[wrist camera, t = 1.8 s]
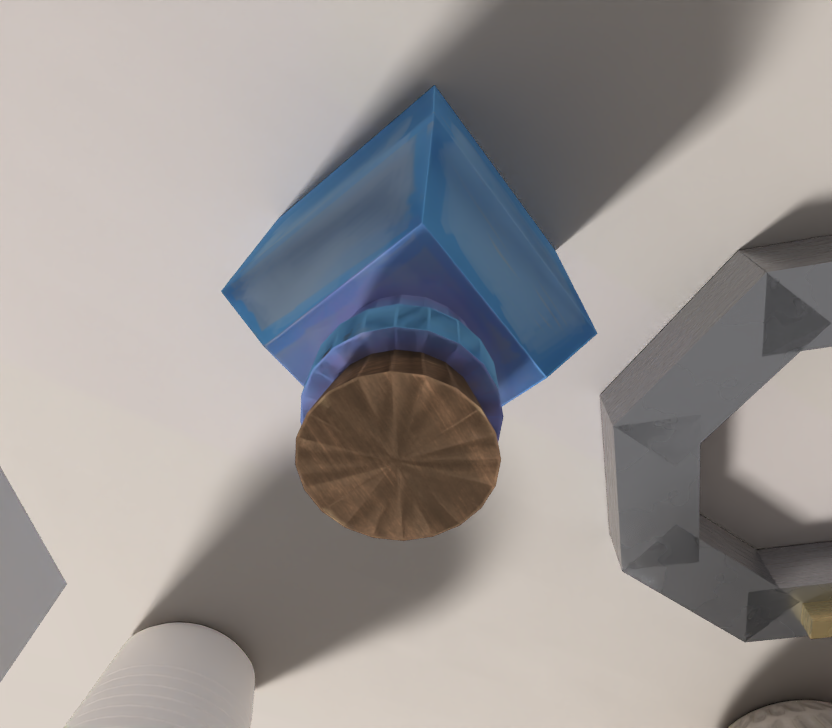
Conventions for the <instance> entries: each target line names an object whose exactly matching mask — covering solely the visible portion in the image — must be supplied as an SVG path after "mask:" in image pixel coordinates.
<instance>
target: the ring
mask: <svg viewBox="0 0 832 728" xmlns="http://www.w3.org/2000/svg"><path fill="white" fill-rule="evenodd" d="M831 346H832V235H829V236H823V237H817V238H811V239H805V240H799V241H793V242H787V243H781V244H774V245H768V246H762V247H756V248H750V249H744V250H739V251H737V252H736V253H735V254H734V256H733V257H732V258H731V259H730V260H729V261H728V262H727V263H726V264H725V265H724V266H723V267H722V268H721V269H720V270H719V271H718V272H717V273H716V274H715V275H714V276H713V277H712V279H711V280H710V281H709V282H708V283H707V284H706V285H705V286H704V287H703V288H702V289H701V290H700V291H699V292H698V293H697V294H696V295H695V296H694V297H693V298H692V299H691V300H690V302H689V303H688V304H687V305H686V306H685V307H684V308H683V309H682V310H681V311H680V312H679V313H678V314H677V315H676V316H675V317H674V318H673V319H672V320H671V321H670V322H669V323H668V325H667V326H666V327H665V328H664V329H663V330H662V331H661V332H660V333H659V334H658V335H657V336H656V337H655V338H654V339H653V340H652V341H651V342H650V343H649V344H648V345H647V346H646V348H645V349H644V350H643V351H642V352H641V353H640V354H639V355H638V356H637V357H636V358H635V359H634V360H633V361H632V362H631V363H630V364H629V365H628V366H627V367H626V368H625V369H624V371H623V372H622V373H621V374H620V375H619V376H618V377H617V378H616V379H615V380H614V381H613V382H612V383H611V384H610V385H609V386H608V387H607V388H606V389H605V390H604V391H603V392H602V394H601V395H600V404H601V419H602V433H603V447H604V462H605V476H606V491H607V505H608V520H609V534H610V536H611V539H612V542H613V545H614V548H615V551H616V554H617V557H618V560H619V563H620V566H621V569H622V571H623V572H624V573H626V574H628V575H630V576H631V577H633V578H635V579H637V580H638V581H640V582H642V583H643V584H645V585H647V586H649V587H650V588H652V589H654V590H656V591H657V592H659V593H661V594H662V595H664V596H666V597H668V598H669V599H671V600H673V601H675V602H676V603H678V604H680V605H681V606H683V607H685V608H687V609H688V610H690V611H692V612H694V613H695V614H697V615H699V616H700V617H702V618H704V619H706V620H707V621H709V622H711V623H712V624H714V625H716V626H718V627H719V628H721V629H723V630H725V631H726V632H728V633H730V634H731V635H733V636H735V637H737V638H738V639H740V640H742V641H744V642H752V641H762V640H772V639H782V638H792V637H802V636H809V637H810V639H816V638H826V637H832V541H830V542H822V543H813V544H805V545H796V546H787V547H779V548H770V549H761V550H756V549H754V548H753V547H751V546H749V545H748V544H746V543H745V542H743V541H741V540H740V539H738V538H737V537H735V536H734V535H732V534H730V533H729V532H727V531H726V530H724V529H722V528H721V527H719V526H718V525H716V524H715V523H713V522H711V521H710V520H708V519H707V518H705V517H703V516H702V515H700V514H699V512H700V443H701V442H702V441H704V440H705V439H706V438H707V437H708V436H709V435H710V434H711V433H712V432H713V431H714V430H715V429H717V428H718V427H719V426H720V425H721V424H722V423H723V422H724V421H725V420H726V419H727V418H729V417H730V416H731V415H732V414H733V413H734V412H735V411H736V410H737V409H738V408H739V407H740V406H742V405H743V404H744V403H745V402H746V401H747V400H748V399H749V398H750V397H751V396H752V395H754V394H755V393H756V392H757V391H758V390H759V389H760V388H761V387H762V386H763V385H764V384H765V383H767V382H768V381H769V380H770V379H771V378H772V377H773V376H774V375H775V374H776V373H777V372H779V371H780V370H781V369H782V368H783V367H784V366H785V365H786V364H787V363H788V362H789V361H790V360H792V359H793V358H794V357H795V356H796V355H797V354H798V353H799V352H800V351H804V350H811V349H818V348H824V347H831Z"/></svg>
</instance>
